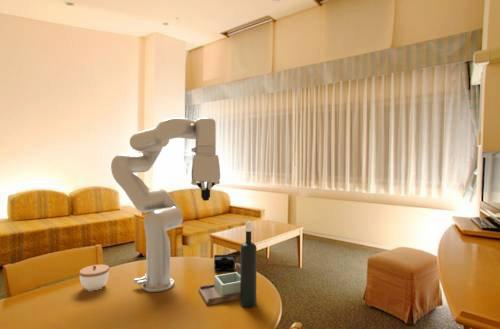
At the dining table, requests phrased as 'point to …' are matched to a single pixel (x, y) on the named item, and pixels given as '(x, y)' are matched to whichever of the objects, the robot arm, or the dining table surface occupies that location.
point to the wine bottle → (248, 270)
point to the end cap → (224, 263)
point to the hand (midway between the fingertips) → (205, 200)
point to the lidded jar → (94, 276)
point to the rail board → (212, 294)
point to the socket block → (227, 283)
